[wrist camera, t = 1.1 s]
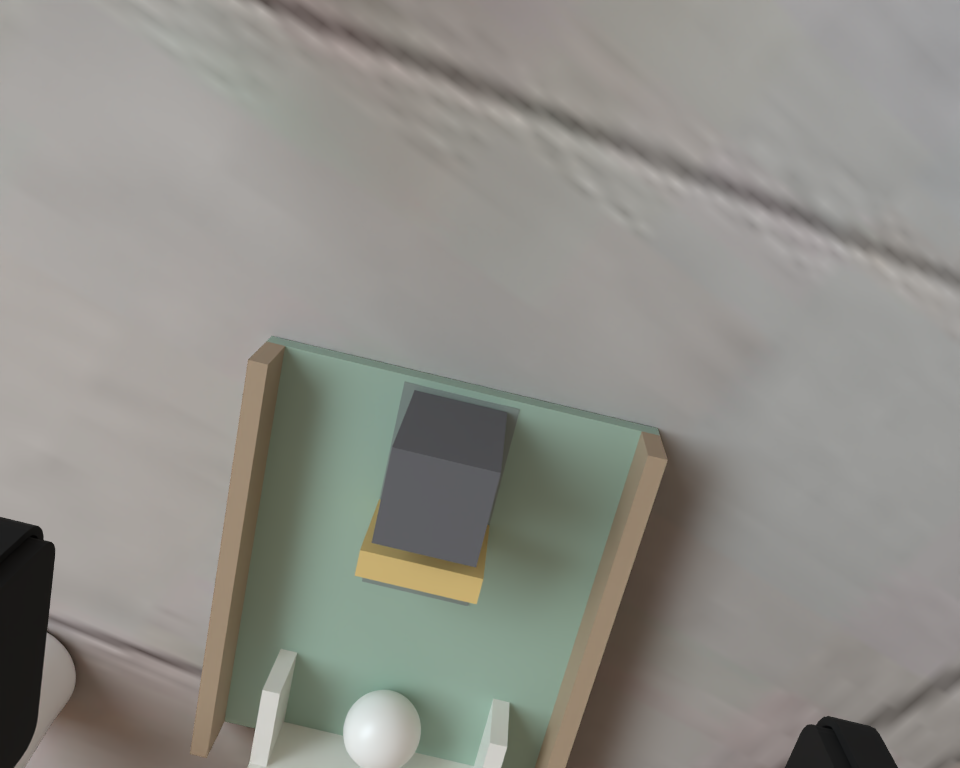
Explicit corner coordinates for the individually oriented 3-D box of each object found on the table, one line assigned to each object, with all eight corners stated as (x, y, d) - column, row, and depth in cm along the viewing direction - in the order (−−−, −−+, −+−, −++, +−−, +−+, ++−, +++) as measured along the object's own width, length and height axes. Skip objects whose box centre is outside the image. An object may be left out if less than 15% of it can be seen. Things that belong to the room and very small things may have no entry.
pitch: (657, 428, 39) (667, 460, 35) (542, 783, 45) (542, 835, 42) (271, 336, 38) (248, 359, 35) (214, 706, 45) (189, 753, 42)
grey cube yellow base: (518, 415, 38) (514, 476, 32) (483, 548, 40) (473, 627, 34) (403, 387, 38) (378, 444, 32) (374, 523, 40) (346, 598, 34)
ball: (407, 793, 42) (422, 720, 44) (417, 760, 39) (432, 685, 42) (331, 776, 42) (351, 704, 44) (337, 741, 39) (357, 667, 42)
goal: (509, 702, 43) (506, 763, 39) (485, 782, 45) (480, 848, 41) (280, 648, 43) (255, 704, 39) (265, 730, 44) (240, 792, 41)
